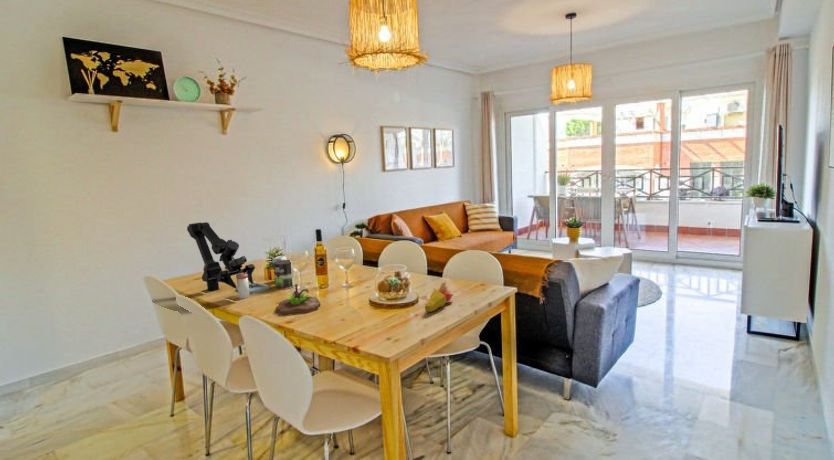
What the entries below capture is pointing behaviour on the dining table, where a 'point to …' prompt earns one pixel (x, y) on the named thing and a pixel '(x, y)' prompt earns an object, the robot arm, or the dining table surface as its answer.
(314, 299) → the plant
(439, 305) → the flower bouquet
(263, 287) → the tray
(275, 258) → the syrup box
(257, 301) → the dining table surface
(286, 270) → the coffee can
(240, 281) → the shaker
